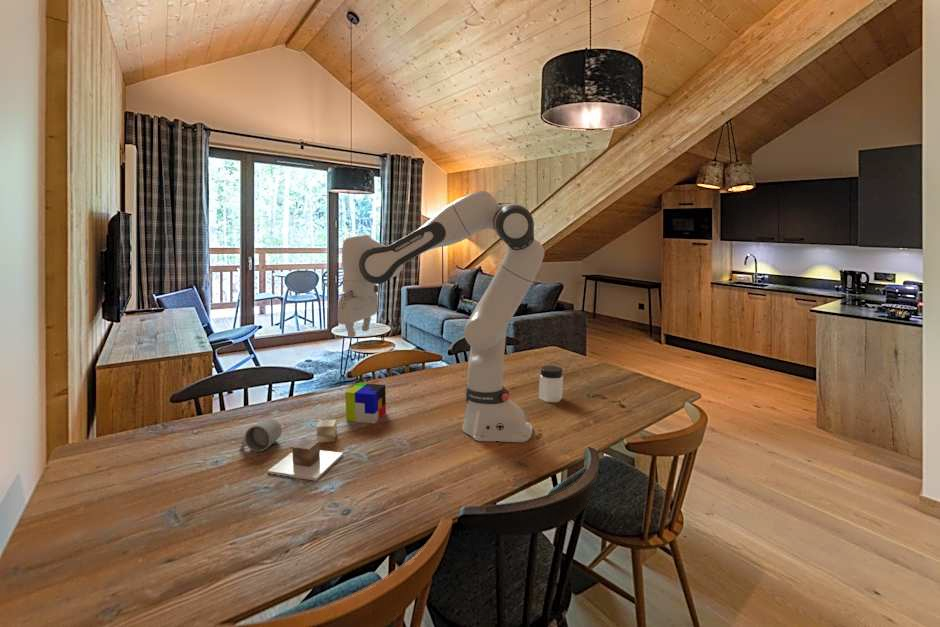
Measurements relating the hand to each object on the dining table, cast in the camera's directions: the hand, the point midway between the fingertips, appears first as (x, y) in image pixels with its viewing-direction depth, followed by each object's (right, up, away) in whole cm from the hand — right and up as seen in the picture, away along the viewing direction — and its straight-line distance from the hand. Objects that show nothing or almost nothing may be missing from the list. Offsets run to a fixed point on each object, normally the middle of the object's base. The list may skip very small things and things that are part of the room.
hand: (358, 333), depth 146 cm
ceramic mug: (-27, -33, -7) cm, 43 cm away
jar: (+65, -27, +35) cm, 79 cm away
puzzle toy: (-1, -29, +16) cm, 33 cm away
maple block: (-9, -32, -2) cm, 33 cm away
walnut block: (-10, -34, -18) cm, 39 cm away
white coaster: (-10, -35, -18) cm, 40 cm away
